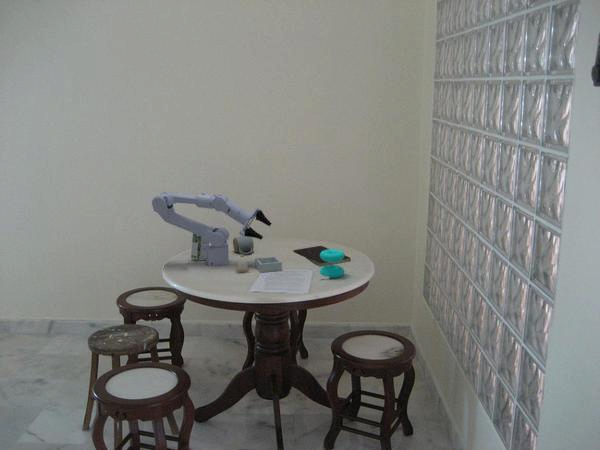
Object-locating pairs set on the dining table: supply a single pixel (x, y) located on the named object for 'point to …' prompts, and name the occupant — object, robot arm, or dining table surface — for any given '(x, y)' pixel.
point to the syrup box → (199, 247)
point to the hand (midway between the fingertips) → (266, 231)
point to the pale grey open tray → (268, 264)
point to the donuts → (332, 256)
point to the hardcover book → (317, 255)
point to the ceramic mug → (243, 245)
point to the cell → (242, 263)
